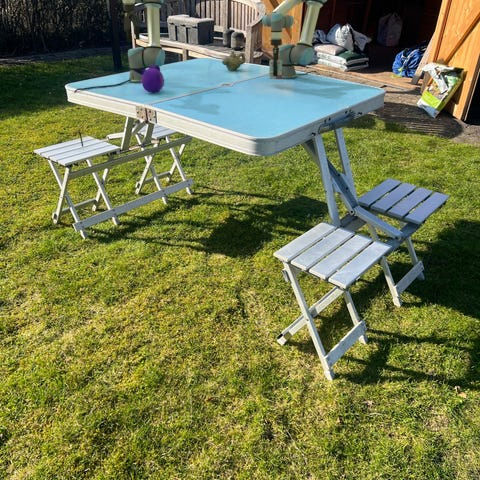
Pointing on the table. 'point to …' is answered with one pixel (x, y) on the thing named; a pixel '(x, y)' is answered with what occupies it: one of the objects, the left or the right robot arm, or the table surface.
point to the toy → (152, 79)
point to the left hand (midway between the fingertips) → (133, 40)
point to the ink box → (279, 70)
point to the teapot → (233, 61)
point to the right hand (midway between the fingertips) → (275, 75)
